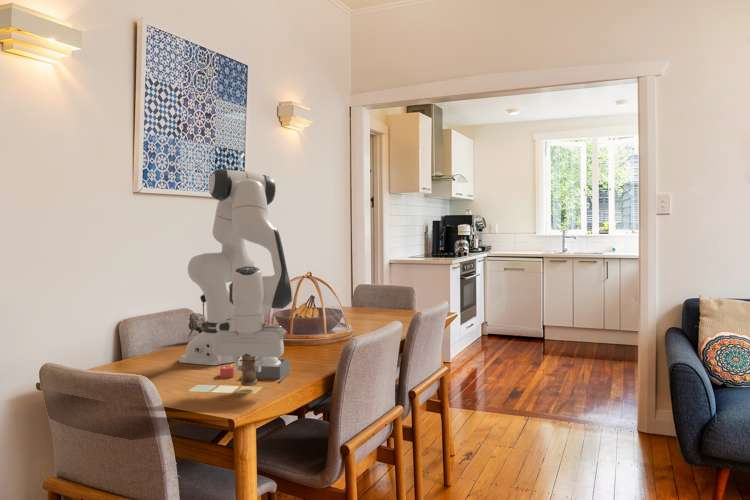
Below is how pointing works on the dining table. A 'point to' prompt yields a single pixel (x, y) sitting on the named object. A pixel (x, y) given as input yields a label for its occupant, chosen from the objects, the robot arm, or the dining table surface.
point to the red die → (227, 371)
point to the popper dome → (270, 361)
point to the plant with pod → (197, 319)
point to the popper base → (275, 370)
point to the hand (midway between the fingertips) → (249, 371)
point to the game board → (225, 389)
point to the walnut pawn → (248, 370)
